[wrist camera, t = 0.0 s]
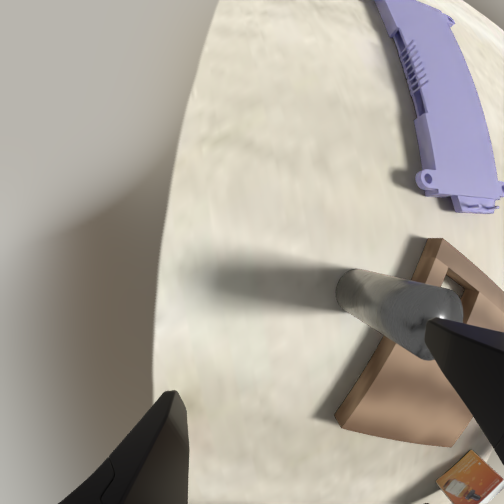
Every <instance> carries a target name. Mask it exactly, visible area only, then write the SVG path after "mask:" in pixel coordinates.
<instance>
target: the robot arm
mask: <svg viewBox="0 0 504 504" xmlns="http://www.w3.org/2000/svg"><path fill="white" fill-rule="evenodd" d="M424 340H425V344H426V346H427V348H428V349H429V351H430V353H431V354H432V356H433V358H434V359H435V361H436V363H437V364H438V366H439V368H440V369H441V371H442V373H443V374H444V376H445V377H446V378H447V380H448V381H449V383H450V384H451V385H452V387H453V388H454V389H455V391H456V392H457V394H458V395H459V397H460V398H461V399H462V401H463V402H464V404H465V405H466V407H467V408H468V409H469V411H470V412H471V414H472V415H473V417H474V418H475V420H476V421H477V423H478V424H479V426H480V427H481V429H482V431H483V432H484V434H485V435H486V437H487V438H488V440H489V442H490V443H491V445H492V446H493V448H495V452H496V453H497V455H498V456H499V458H500V460H501V461H502V463H503V465H504V332H500V331H496V330H491V329H487V328H482V327H478V326H473V325H469V324H465V323H460V322H456V321H452V320H448V319H443V318H439V317H434V318H432V319H430V320H428V321H427V323H426V329H425V337H424ZM188 472H189V438H188V425H187V411H186V407H185V405H184V403H183V401H182V399H181V397H180V395H179V393H178V392H177V391H175V390H172V391H166V392H164V393H163V394H162V395H161V396H160V397H159V399H158V400H157V401H156V402H155V403H154V405H153V406H152V407H151V408H150V409H149V410H148V412H147V413H146V414H145V415H144V416H143V418H142V419H141V420H140V421H139V422H138V423H137V425H136V426H135V427H134V428H133V429H132V430H131V431H130V433H129V434H128V435H127V436H126V437H125V438H124V440H123V441H122V442H121V443H120V444H119V445H118V446H117V448H116V449H115V450H114V451H113V452H112V453H111V454H110V456H109V457H108V458H107V459H106V460H105V461H104V462H103V463H102V465H100V467H99V468H98V469H97V470H96V471H95V472H94V473H93V474H92V475H91V476H90V477H89V478H88V479H87V480H85V481H84V482H83V483H82V484H81V485H80V486H79V487H78V488H76V489H75V490H74V491H73V492H72V493H71V494H69V495H68V496H67V497H66V498H65V499H64V500H62V501H61V502H60V503H58V504H188Z"/></svg>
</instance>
